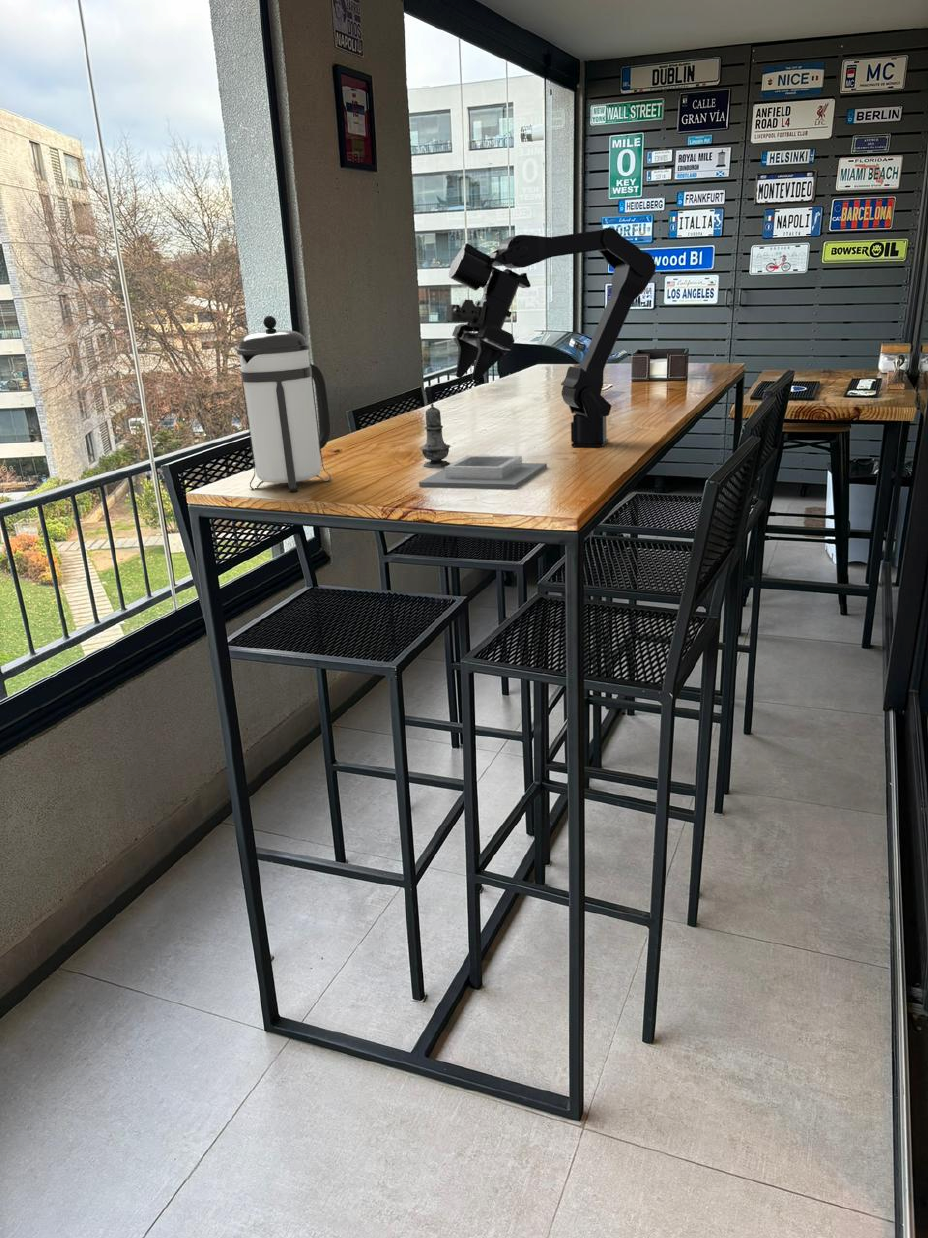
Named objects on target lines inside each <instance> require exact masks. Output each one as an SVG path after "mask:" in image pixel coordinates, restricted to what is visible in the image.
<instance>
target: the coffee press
mask: <svg viewBox="0 0 928 1238" xmlns="http://www.w3.org/2000/svg"><path fill="white" fill-rule="evenodd" d="M277 323H278V321H277V320H276V318H275V317H274V316H272V315H267V316H265V317H264V318H263V321H262V324H263V325H264V327H265V328H266V329H265V331H260V332H253V333H249V334H247V335H244V336H243V337H242V338H241V339H240V340H239V343H238V346H237V347H238V348H236V349H235V350H236V355H237V356H238V358H239V362H240V369H241V370H240V372H239V373H240V378H241V386H242V391H243V399H244V407H245V412H246V413H245V414H246V420H247V427H248V428H247V429H248V434H249V439H250V440H249V442H250V450H251V455H252V464H253V469H254V471H253V472H254V473H253V476H252V478H251V480H250V482H249V487H250V489H251V488H252V487H253V486H252V483H253V481H254V479H255V477H256V476H257V478H258V479H259V480H260V482H259V483H258V484H257V486H256V487H257V489H259V487H260V486H261V485H262V484H263V483H269V484H286V483H287V485H288V491H289V493H296V492H298V488H297V482H303V481H306V480H307V481H308V480H311V479H313V478H316V477H317V478H319V479H321V480H322V481H324V482H330V480H331V474H330V473H329V472H328V471H327V470H326V469H325V468H324V464H323V456H322V449H323V448H325V447H326V445H327V444H328V441H329V438H330V433H331V425H330V424H331V423H330V413H329V411H330V410H329V403H328V395H327V388H326V383H325V378H324V376H323V373H322V371H321V370H320V369H319V367H318V366H317V365H314V364H312V363H310V356H309V355H310V354H309V352H310V348H311V347H310V343H308V342H307V339H306V338H305V336H304V335H303V334H301V332H298V331H294V330H277V329H276V328H275V327H276V325H277ZM314 385H315V388H314ZM315 392H316V397H315ZM316 400H317V403H316ZM316 404H317V406H316ZM317 407H318V408H317ZM317 409H318V413H317ZM318 417H319V421H318ZM318 422H319V423H318ZM319 426H320V430H319ZM322 469H323V470H324V472H325V473H326V474H327V475H328V478H327V479H325V478H323V477H322V476H320V475H319V474H320V473H321V471H322Z"/></svg>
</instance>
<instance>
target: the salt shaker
mask: <svg viewBox="0 0 928 1238" xmlns="http://www.w3.org/2000/svg"><path fill="white" fill-rule="evenodd" d="M425 425H426V426H424V429H425V430H426V443H425V444H424V445H422V446H420V450H422V451H421V453H422V455H423V457H424V458H425V459H426V460H429V461H425V463H424V464H423V465H422V466H423V468H428V469H429V468H430V469H431V468H432V469H434V468H436V469H437V468H443V467H444V468H445V467H446V466H448V465H450V464H451V463H450V462H448V460H445V459H446V458H447V456H448V455H449V452H450V448H451V445H450V444H447V443H445V442H444V438H443V428H444V426H443V425H442V420H441V410H440V409H439V408H436V407H435V405H434V403H433V402H431V404H430V407H429V408H427V409H426V410H425Z"/></svg>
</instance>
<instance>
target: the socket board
mask: <svg viewBox="0 0 928 1238" xmlns="http://www.w3.org/2000/svg"><path fill="white" fill-rule="evenodd" d="M547 467H548V465H547V463H546V462H545V463H542V462H541V463H540V462H537V463H535V462H522V467H521V468H520V469H518V470H517V471H515V472H513V473H512V474H510V475H509V476H507V477H505V478H504V479H461V478H445V468H444V469H441V470H439V471H438V472H436V473H434V474H432V475H430V476H428V477H426V478H424V479H422V480H420V481H418V486H419V487H421V488H422V487H425V488H427V487H428V488H429V487H431V488H458V489H459V488H464V489H466V488H467V489H495V490H497V489H499V490H500V489H502V490H505V489H506V490H516V489H517V488H519V487H521V486H522V485H524V484H525V483H526V482H528V481H530V480H531V479H532V478H534V477H535V476H537V475H538V474H540V473H541V472H543V471H544V470H546V469H547Z"/></svg>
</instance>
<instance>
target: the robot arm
mask: <svg viewBox="0 0 928 1238" xmlns="http://www.w3.org/2000/svg"><path fill="white" fill-rule="evenodd" d="M594 251H595V252H596V251H598V252H599V253H600V254H601V256H602V257H603V258H604V259H603V260H605V262H606V264H607V265H608V266H610V267H611V268H612V269H613V273H612V275H611V276H612V277H611V294H610V296H609V298H608V301H607V304H606V305H605V308H604V310H603V312H602V315H601V317H600V319H599V322H598V324H597V327H596V328H595V331H594V333H593V336H592V339H591V340H590V343H589V345H588V348H587V349H586V353H585V354H584V357H583V359H582V361H581V362H580V363H579V364H578V365H577V366H568V368H567V371H566V375H565V377H564V379H563V381H562V382H561V383H560V386H562V389H561V397H562V399H563V402H564V403H565V404H566V405H567V406H568V407H569V410H570V412H571V414H573V415H572V416H573V417H572V418H573V421H572V422H570V440H571V445H570V446H571V447H581V448H583V447H586V448H587V447H588V448H589V447H595V448H599V447H601V448H602V447H603V446H605V445H606V444H607V443H608V442H609V441H610V440H609V439H608V438H607V417H608V416H609V415H610V413H611V409H612V404H610V402H609V401H608V400H607V399H606V398H604V396H602V395H601V393H602V390H603V386H604V373H605V372H604V371H605V367H606V365H607V362H608V360H609V358H610V355H611V353H612V351H613V349H614V347H615V344H616V343H617V340H618V337H619V336H620V333H621V330H622V328H623V326H624V324H625V322H626V319H627V316H628V315H629V312H630V310H631V308H632V305H633V303H634V302H635V300H636V299H638V297H639V296H640V295H641V294H642V293H643V292H644V290H645V289H646V288H647V287H648V285H649V284H650V282H651V280H652V279H653V278H654V276H655V274H656V269H657V265H656V261H655V258H653V257H654V256H652V254H650V253H649V252H646V251H642V249H640V248H639V247H638V246H637V245H636V244H634V243H633V242H632V241H629V240H628V239H626V238H625V237H623V236H622V234H621V233H620V232H618V230H616V229H615V228H613V227H605V228H604V227H603V228H600V229H597V230H591V231H584V232H575V233H571V234H569V233H568V234H563V235H557V236H555V235H554V236H542V235H533V234H532V235H531V234H530V235H529V234H519V235H513V236H509V237H506V238H504V239H502V240H501V243H500V244H499V247H498V249H496V250H495V251H493V252H491V253H489V254H486V253H484V252H482V251H480V250H479V249H477V248H475V247H474V246H473V245H471V244H469V243H464V244H462V247H461V249H460V250H459V251H458V253H457V254H456V256H455V258H454V259H453V260H452V262H451V265H450V268H449V272H448V278H449V279H451V280H453V281H455V282H457V283H459V284H462V285H463V286H465V287H468V288H469V289H471V290H473V291H478V290H480V288H483V289H484V288H485V289H484V291H483V295H482V297H481V299H477V300H476V301H475V302H474V300H473V299H462V300H461V301H460V303H459V304H458V303H457V304H446V311H445V312H446V314H445V322H446V323H460V324H458V325H456V326H455V327H454V329H453V332H452V334H451V336H452V337H453V340H454V342H455V343H456V346H457V348H458V350H457V352H458V354H457V363H456V372H455V373H456V374H455V377H456V378H459V379H462V378H463V377H464V375H466V373H467V372H468V370H469V369H470V368H471V367H472V365H473V364H474V366H473V369H472V370H473V371H472V373H471V374H472V375H471V380H473V381H474V382H477V381H479V380H480V378H481V377H482V376H484V375H485V374H486V373H487V372H488V370H490V369H491V368H492V366H494V365H495V364H496V363H497V362H498V361H499V360H500V359H501V358H502V357H503V356H504V355H507V353H508V352H507V351H512V349H513V347H514V343H515V338H514V335H513V333H510V332H508V331H507V330H504V329H503V327H504V324H505V321H506V319H507V318H511V316H512V314H513V312H511V311H510V309H511V308H512V307H511V306H512V305H513V302H514V300H515V299H514V298H515V296H516V294H517V291H518V289H519V288H521V289H528V288H531V283H530V281H529V278H528V274H527V272H522V273H520V274H519V273H517V272H515V271H514V270H511V269H520V268H521V269H522V268H526V267H529V266H532V265H535V264H537V263H540V262H543V261H545V260H547V259H550V258H554V257H559V256H560V257H561V256H566V255H567V256H569V255H574V254H575V255H576V254H581V253H586V252H589V253H590V252H594ZM495 266H497V267H498V266H504V267H505V269H504V270H501V269H499V268H497V267H495Z"/></svg>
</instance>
